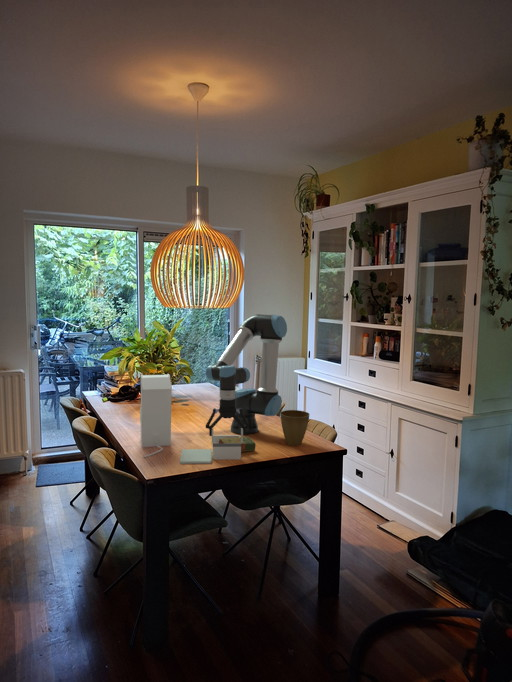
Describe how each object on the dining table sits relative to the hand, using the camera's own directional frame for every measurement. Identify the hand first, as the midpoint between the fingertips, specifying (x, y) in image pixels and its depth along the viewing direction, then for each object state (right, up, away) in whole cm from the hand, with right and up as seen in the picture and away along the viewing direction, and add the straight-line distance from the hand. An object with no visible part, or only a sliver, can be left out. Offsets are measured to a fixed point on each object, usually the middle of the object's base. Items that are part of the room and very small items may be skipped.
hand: (227, 442), depth 237 cm
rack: (-1, -5, +1) cm, 5 cm away
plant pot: (+33, -5, +18) cm, 38 cm away
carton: (-1, -6, +1) cm, 6 cm away
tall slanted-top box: (-36, -4, +9) cm, 37 cm away
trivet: (-14, -5, -6) cm, 16 cm away
